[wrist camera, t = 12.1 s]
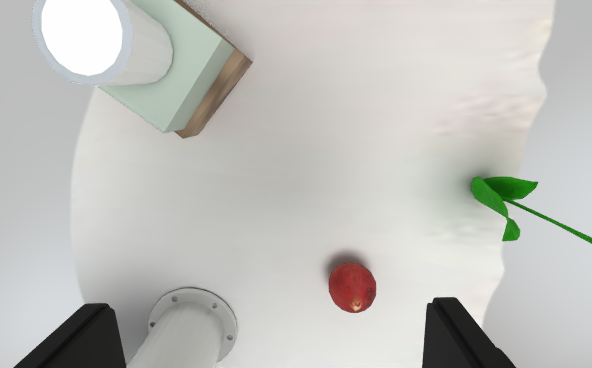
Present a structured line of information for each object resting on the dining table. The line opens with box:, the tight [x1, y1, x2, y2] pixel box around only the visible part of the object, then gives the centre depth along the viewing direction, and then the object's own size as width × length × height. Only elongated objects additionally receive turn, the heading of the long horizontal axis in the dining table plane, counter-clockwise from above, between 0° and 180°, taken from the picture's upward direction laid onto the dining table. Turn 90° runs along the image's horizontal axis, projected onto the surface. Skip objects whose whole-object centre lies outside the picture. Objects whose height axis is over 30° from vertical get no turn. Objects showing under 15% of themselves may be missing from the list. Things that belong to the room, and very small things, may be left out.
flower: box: [472, 177, 592, 243], centre depth 24 cm, size 9×8×30 cm
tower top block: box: [97, 0, 235, 133], centre depth 29 cm, size 10×10×5 cm
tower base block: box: [174, 0, 252, 138], centre depth 34 cm, size 11×11×5 cm
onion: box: [329, 263, 376, 313], centre depth 38 cm, size 6×6×8 cm
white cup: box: [32, 0, 173, 86], centre depth 23 cm, size 7×7×7 cm
